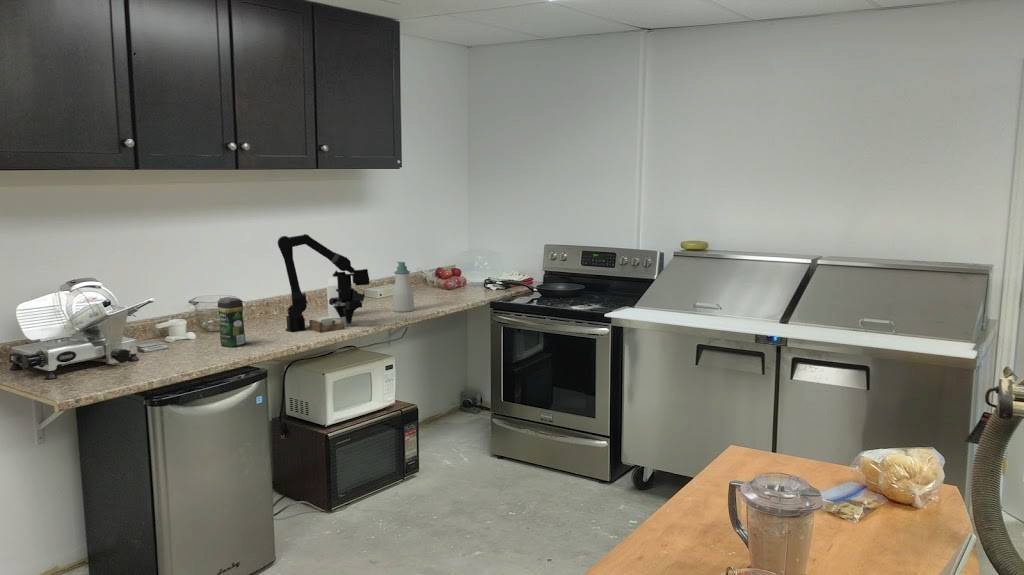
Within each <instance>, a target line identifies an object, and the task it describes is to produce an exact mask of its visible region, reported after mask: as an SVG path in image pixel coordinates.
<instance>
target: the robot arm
mask: <svg viewBox="0 0 1024 575" xmlns="http://www.w3.org/2000/svg"><path fill="white" fill-rule="evenodd" d="M302 245H306V246H308V247H309V248H311V249H312V250H314V251H315V252H316V253H318V254H320V255H321V256H323V257H324V258H326V259H327V260H329V261H330V263H332V264H333V265H334V266H335V267H336V268H337V269H338V270H340V271H338V270H335V271H334V272H333V273H332V275H331V276H333V277H337V282H338V289H336V291H337V292H338V297H334V298H330V300H329V304H330V305H334V304H335V306H333V307H334V308H335V310H336V311H337V313H338V315H339V316H340V318H339V319H341V317H345V316H346V319H347V322H348V324H350V323H351V320H352V321H353V316H354V313H355V311H356V310H358V308H363V303H364V299H365V297H366V296H365V294H363V293H359V292H358V290H355V289H354V288H352V287H353V286H352V284H354V285H355V286H356V287H357V286H369V285H370V276H369V270H368V268H364V269H355V268H354V267H352V266H351V265H352V263H351V260H350V259H349V258H348V257H347V256H344V255H342V254H340V253H338V252H337V253H336V252H335V251H333V250H331V249H329V248H328V247H326V246H325V245H323V244H322V243H320V242H318V241H317V240H315V238H312V237H311V235H309V234H307V233H304V234H302V235H301V234H299V235H295V236H294V235H293V236H287V235H282V236H280V237H278V239H277V246H278V248H279V251H280V253H281V255H282V258H283V261H284V264H285V269H286V274H287V278H288V282H289V286H290V293H291V294H290V295H291V296H290V297H291V305H290V306H289V307H288V308H287V309H286V311H287V315H286V316H285V317H286V328H285V331H288V332H290V333H293V332H300V331H305V330H307V328H306V318H305V317H304V314H303V312H305V311H306V309H307V307H308V306H307V304H309V302H308V301H307V294H306V292H302V290H301V287H300V283H299V279H298V274H297V270H296V266H295V262H294V249H293V247H299V246H302ZM346 272H348V273H346Z"/></svg>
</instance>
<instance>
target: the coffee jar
mask: <svg viewBox="0 0 1024 575" xmlns="http://www.w3.org/2000/svg"><path fill="white" fill-rule="evenodd" d="M217 311H218V312H217V313H218V318H219V321H218V322H219V343H220V345H221V346H224V347H228V348H229V347H230V348H232V347H236V346H238V347H242V346H243V345H245V344H246V343H247V342H246V334H245V333H246V332H245V326H244V324H245V323H244V315H243V314H244V305H243V300H242V299H240V298H235V297H230V296H227V297H220V298H219V299H218V300H217Z"/></svg>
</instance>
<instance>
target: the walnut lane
mask: <svg viewBox="0 0 1024 575" xmlns="http://www.w3.org/2000/svg"><path fill="white" fill-rule="evenodd" d="M344 329H346V327H345V324H344V323H341V322H338V323H337V324H336V319H335V320H333V319H332V324H330V325H322V322H318V321H316V320H315V319H309V330H310V331H314V332H317V333H327V332H331V331H332V332H333V331H338V330H344Z"/></svg>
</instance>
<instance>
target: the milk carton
mask: <svg viewBox="0 0 1024 575" xmlns="http://www.w3.org/2000/svg"><path fill="white" fill-rule="evenodd" d="M336 289H338V282H337V277H333V275H329V278H328V281H327V283H326V297H327V298H326V299H327V313H328V314H327V315H328V316H327V317H330V318H332V319H341V318H340V316H339V315H338V313H337V311H336V310H335V308H334V307H333V306H335V304H334V305H330V304H329V300H330V298H334V297H338V292H337V291H336Z"/></svg>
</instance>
